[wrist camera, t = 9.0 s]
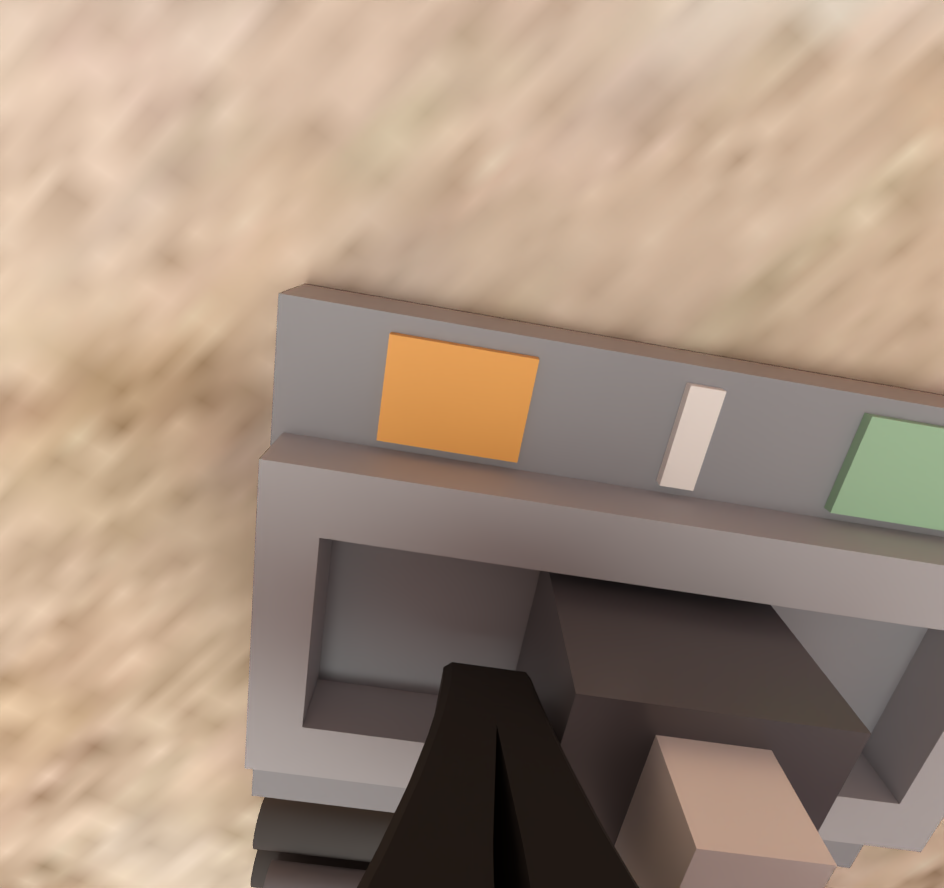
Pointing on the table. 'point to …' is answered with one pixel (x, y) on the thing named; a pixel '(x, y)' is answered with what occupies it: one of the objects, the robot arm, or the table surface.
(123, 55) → the table surface
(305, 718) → the breaker panel
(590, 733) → the breaker slider
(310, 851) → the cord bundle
